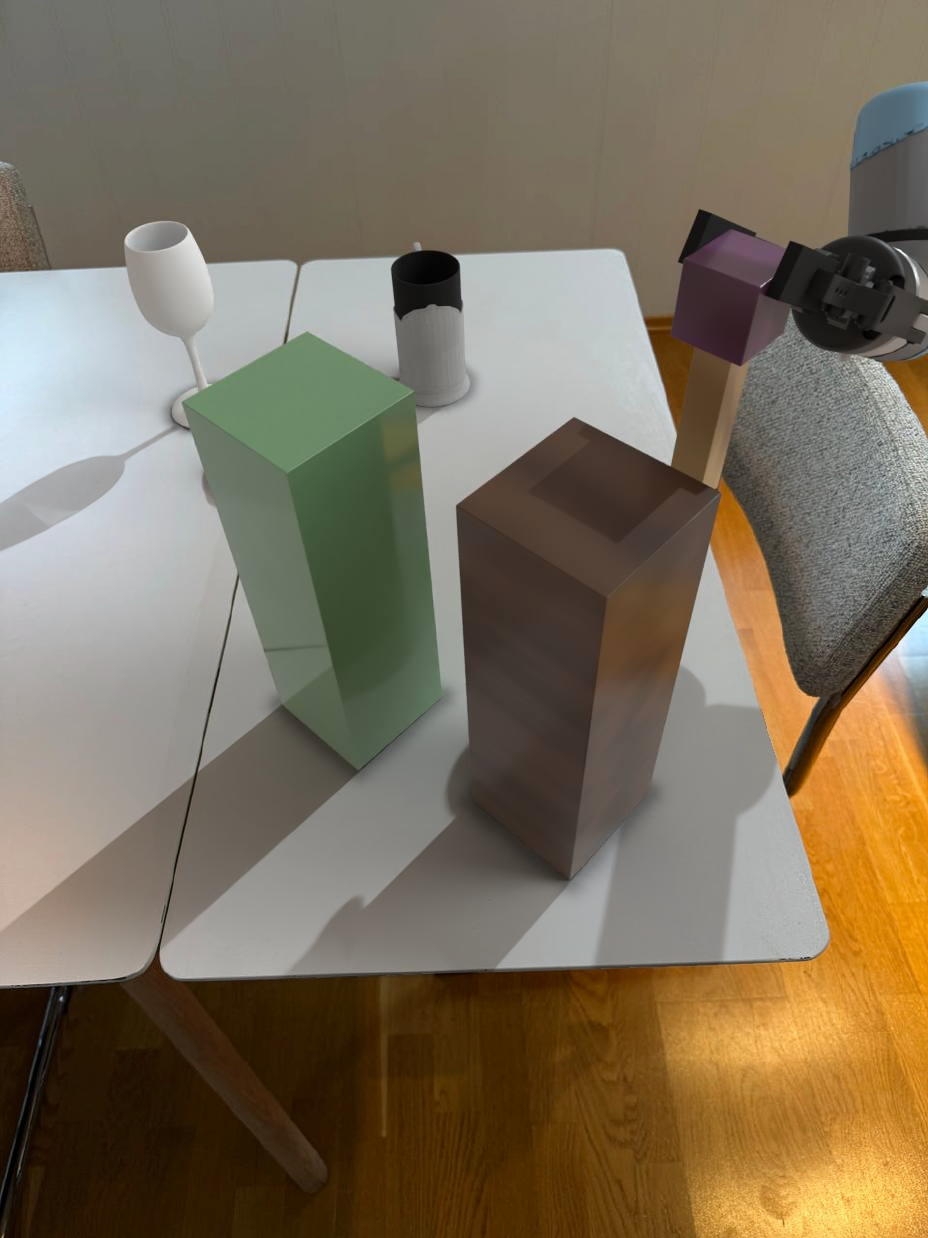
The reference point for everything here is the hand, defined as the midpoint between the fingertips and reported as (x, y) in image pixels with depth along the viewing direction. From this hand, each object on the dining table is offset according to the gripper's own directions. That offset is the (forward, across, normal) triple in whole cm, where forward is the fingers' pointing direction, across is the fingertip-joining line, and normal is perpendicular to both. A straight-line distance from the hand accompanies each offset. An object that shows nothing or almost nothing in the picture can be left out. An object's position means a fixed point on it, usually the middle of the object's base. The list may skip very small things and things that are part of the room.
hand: (738, 253), depth 46 cm
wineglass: (-22, +64, -35) cm, 76 cm away
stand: (-11, 0, -41) cm, 42 cm away
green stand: (-7, +19, -43) cm, 48 cm away
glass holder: (-41, +49, -24) cm, 68 cm away
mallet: (-3, 0, -8) cm, 8 cm away
